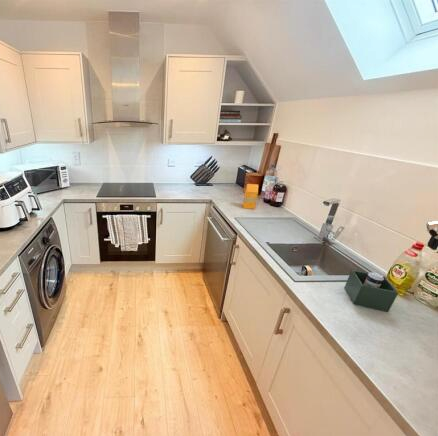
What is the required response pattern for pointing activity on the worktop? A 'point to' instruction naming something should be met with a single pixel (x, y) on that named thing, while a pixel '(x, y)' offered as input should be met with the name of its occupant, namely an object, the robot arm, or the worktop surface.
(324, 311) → the worktop surface
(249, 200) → the orange juice
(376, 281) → the white and teal cylinder
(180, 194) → the worktop surface
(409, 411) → the worktop surface
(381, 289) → the waste bin
